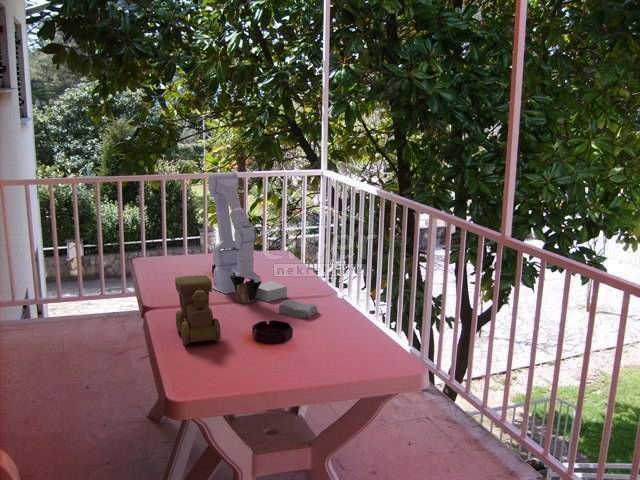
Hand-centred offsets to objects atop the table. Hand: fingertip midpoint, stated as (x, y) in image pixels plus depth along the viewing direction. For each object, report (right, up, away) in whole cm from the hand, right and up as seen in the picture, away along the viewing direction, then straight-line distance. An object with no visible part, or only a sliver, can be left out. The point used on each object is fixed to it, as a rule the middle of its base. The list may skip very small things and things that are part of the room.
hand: (245, 297), depth 237 cm
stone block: (+19, -5, -11) cm, 23 cm away
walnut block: (0, -1, 0) cm, 2 cm away
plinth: (+8, 0, +6) cm, 10 cm away
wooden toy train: (-11, -9, -34) cm, 37 cm away
